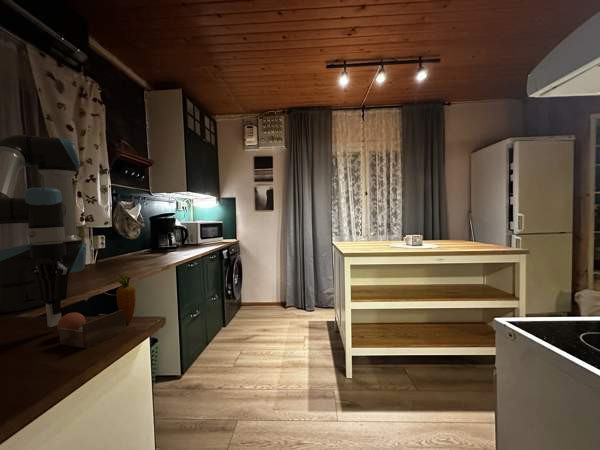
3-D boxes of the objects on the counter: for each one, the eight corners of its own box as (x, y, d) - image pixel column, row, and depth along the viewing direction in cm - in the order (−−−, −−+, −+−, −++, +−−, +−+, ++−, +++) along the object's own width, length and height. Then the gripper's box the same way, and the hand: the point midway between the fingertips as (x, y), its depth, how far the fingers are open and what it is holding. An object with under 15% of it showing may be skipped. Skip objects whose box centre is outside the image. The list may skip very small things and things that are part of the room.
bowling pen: (60, 344, 71) (58, 321, 71) (101, 327, 81) (99, 307, 81) (86, 348, 68) (84, 324, 67) (126, 330, 78) (124, 309, 78)
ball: (84, 317, 75) (83, 337, 76) (87, 307, 80) (86, 326, 81) (55, 320, 72) (54, 341, 73) (60, 309, 77) (60, 329, 78)
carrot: (140, 323, 82) (136, 273, 82) (120, 329, 79) (116, 277, 78) (135, 319, 86) (131, 271, 85) (116, 324, 82) (112, 274, 82)
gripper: (16, 244, 77) (24, 328, 78) (47, 244, 73) (54, 332, 74) (48, 241, 84) (55, 318, 85) (78, 241, 80) (84, 321, 81)
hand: (55, 324), depth 79 cm, fingers closed
